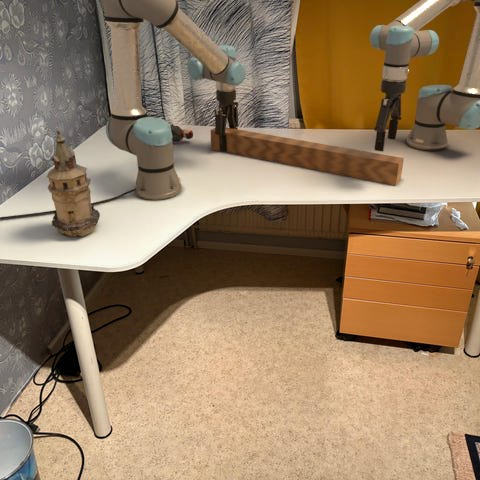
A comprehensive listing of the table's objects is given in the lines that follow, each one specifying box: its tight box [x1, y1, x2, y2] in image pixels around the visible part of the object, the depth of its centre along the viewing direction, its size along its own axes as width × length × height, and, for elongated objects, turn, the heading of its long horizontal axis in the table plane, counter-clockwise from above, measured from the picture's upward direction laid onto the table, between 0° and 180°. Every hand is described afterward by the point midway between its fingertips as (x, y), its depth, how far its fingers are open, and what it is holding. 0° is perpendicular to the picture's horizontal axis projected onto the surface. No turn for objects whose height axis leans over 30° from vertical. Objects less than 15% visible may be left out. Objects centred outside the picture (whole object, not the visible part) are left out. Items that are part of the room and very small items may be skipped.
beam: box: [210, 126, 405, 186], centre depth 196 cm, size 74×6×8 cm, turn 59°
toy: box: [169, 123, 194, 144], centre depth 221 cm, size 26×6×30 cm
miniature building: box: [46, 129, 101, 237], centre depth 148 cm, size 13×14×30 cm
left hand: (227, 148), depth 212 cm, fingers closed on beam, 6 cm apart
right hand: (385, 144), depth 178 cm, fingers open, 13 cm apart
